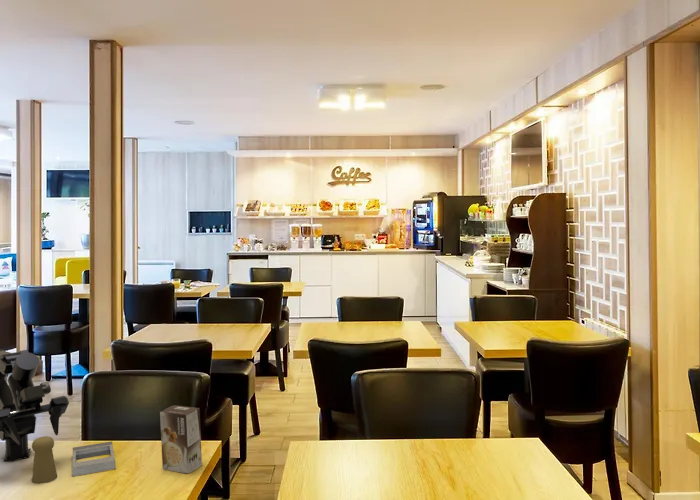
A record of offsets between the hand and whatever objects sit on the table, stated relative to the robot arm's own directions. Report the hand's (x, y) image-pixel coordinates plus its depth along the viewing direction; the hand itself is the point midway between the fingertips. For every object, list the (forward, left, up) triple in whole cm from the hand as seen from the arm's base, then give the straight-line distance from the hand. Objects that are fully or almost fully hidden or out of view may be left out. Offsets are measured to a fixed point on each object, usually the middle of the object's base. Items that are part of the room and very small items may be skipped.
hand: (39, 439), depth 160 cm
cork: (+3, +1, -10) cm, 11 cm away
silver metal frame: (-3, +13, -10) cm, 17 cm away
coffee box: (+12, +35, -10) cm, 38 cm away
